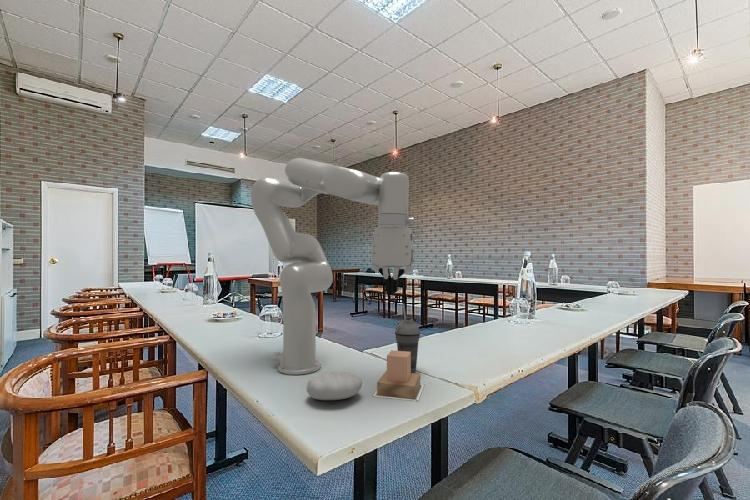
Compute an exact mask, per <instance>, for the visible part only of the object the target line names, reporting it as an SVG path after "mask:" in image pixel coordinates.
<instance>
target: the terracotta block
mask: <svg viewBox="0 0 750 500" xmlns="http://www.w3.org/2000/svg"><path fill="white" fill-rule="evenodd" d="M386 371H387V380H388V381H398V382H408V380H409V378H410V376H411V352H407V351H398V350H395V349H393V350H390V352H389V353H388V354H386Z"/></svg>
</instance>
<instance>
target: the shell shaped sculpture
mask: <svg viewBox="0 0 750 500" xmlns="http://www.w3.org/2000/svg"><path fill="white" fill-rule="evenodd" d="M362 385H363V379H362V377H360V376H359V375H357V374H350V373H349V372H347V371H343V372H339V371H335V370H334V371H331V372H330V373H328V372H323V373H322V372H321V373H320V374H319V375H318V376H317V377H316V376H313V377H311V378H309V379H308V382H307V385H306V392H307V394H308V396H310V397H311V399H312V398H313V399H315V400H319V401H337V400H344V399H348V398H351V397H353V396H355V395H356V394H357V393H358V392H359V391H360V389H361V388H362Z"/></svg>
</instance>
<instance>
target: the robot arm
mask: <svg viewBox="0 0 750 500" xmlns="http://www.w3.org/2000/svg"><path fill="white" fill-rule="evenodd" d="M284 172H285V173H284V174H285V177H286V179H283V178H280V177H274V176H273V177H271V176H265V177H260V178H258V179H256V181H255V182H254V184H253V185H252V189H251V194H250V201H251V207H252V210H253V212H254V214H255V216H256V218H257V220H258V221H259V223H260V224H261V227H262V229H263V231H264V234H265V237H266V238H267V241H268V243H269V246H270V248H271V251H272V254H273V255H274V257H275V259H276V260H277V261H279V262H280V263H284V264H287V263H288V264H287V265H286V266H284V267H283V268H282V270H281V272H280V274H279V284H280V288H281V295H282V312H283V313H282V318H283V319H282V321H283V324H282V327H283V328H282V329H283V331H282V332H283V334H282V343H283V344H282V346H283V348H282V351H283V352H279V351H274V352H273V353H272V357H271V360H272V361H278V362H279V364H278V365H277V371H278V372H279V373H281V374H285V375H294V376H295V375H297V376H298V375H306V374H307V375H308V374H311V373H315V372H316V371H318V370H320V368H322V367H321V365H322V364H321V361H319V360H317V357H316V352H317V351H316V350H317V349H316V346H317V344H316V343H317V339H316V335H317V334H316V331H317V330H316V328H317V325H316V324H317V322H316V319H317V316H316V315H317V314H316V313H317V311H316V303H315V301H314V299H313V296H312V293H319V292H324V291H327V290H328V289H329V288H330V287H331V286H332V284H333V279H334V277H333V276H334V275H333V271H332V268H331V265H330V263H329V261H328V259H327V256H326V255H325V252H324V250H323V247H322V246H321V244H320V241H318V239H316V238H315V236H313V235H312V234H309V233H302V232H298V231H296V230H295V229H294V227H293V225H292V222H291V220H290V218H289V217H288V215H287V214H286V213H285V212H284V211H283V210H282V209H281V208H280V207H285V208H290V209H291V208H292V209H294V208H295V209H296V208H299V207H302V206H303V205H305V204H306V203H307V202H309V201H311V200H312V199H313V198H314V197H316V196H317V195H319V194H320V193H322V194H324V195H331V196H335V197H338V198H341V199H346V200H349V201H353V202H359V203H361V204H366V205H372V206H378V220H377V221H378V222H377V227H375V230H374V233H373V239H372V247H371V266H370V269H371V271H374V272H375V273H376V272H377V273H379V274H380V275H381V276H382V278H383V279H384V292H386V296H396V293H398V291H399V279H401V277H402V276H403V275H404V274H407V273H412V272H413V271H414V268H413V264H414V241H413V239H414V238H413V231H412V228H411V227H409V225H410V224H414V223H415V218H414V217H410V215H409V201H410V199H409V197H410V191H409V190H410V179H409V175H408V174H407V173H404V172H399V171H386V172H384V173H382V174H381V175H380V177H379V176H375V175H372V174H369V173H367V172H363V171H360V170H357V169H353V168H349V167H344V166H343V167H342V166H339V165H335V164H331V163H325V162H322V161H321V162H320V161H316V160H313V159H308V158H303V157H296V158H293V159H290V160H289V161H288V162H287V163H286V166H285V168H284ZM391 268H393V273H392V275H391Z"/></svg>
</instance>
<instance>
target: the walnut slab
mask: <svg viewBox="0 0 750 500" xmlns="http://www.w3.org/2000/svg"><path fill="white" fill-rule="evenodd" d="M376 384H377V385H376V390H377V395H380V396H389V397H398V398H408V399H415V397H416V395H417V392H418V390H419V387H420V384H421V373H416V372H415V373H411V376H410V378H409V380H408V382H398V381H388V380H387V370H385V371H384V373H383V374H382V376H381V377H380V378H379V379H378V380H377V383H376Z"/></svg>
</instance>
